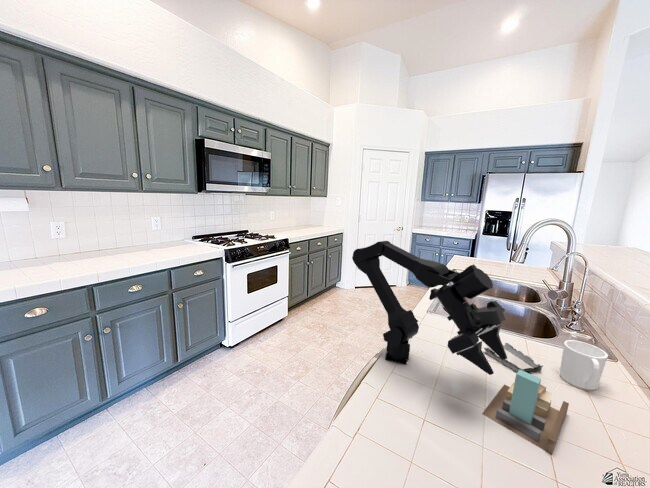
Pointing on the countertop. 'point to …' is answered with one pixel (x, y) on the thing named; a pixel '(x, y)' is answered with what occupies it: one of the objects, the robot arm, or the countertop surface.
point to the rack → (544, 418)
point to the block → (524, 396)
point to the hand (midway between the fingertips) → (498, 366)
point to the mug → (582, 364)
